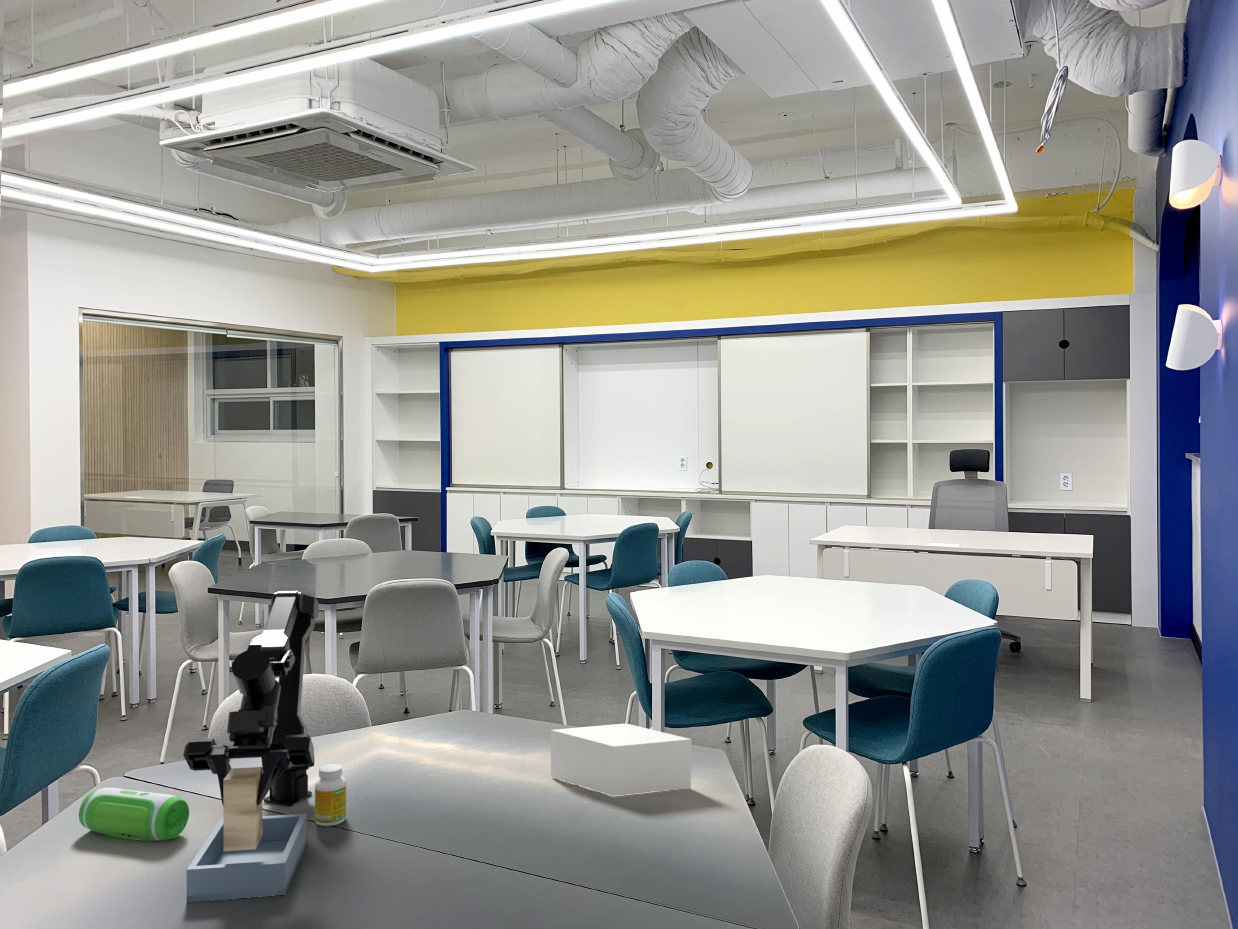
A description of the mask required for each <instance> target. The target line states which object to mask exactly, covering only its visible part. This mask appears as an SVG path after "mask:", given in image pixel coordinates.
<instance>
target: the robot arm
mask: <svg viewBox="0 0 1238 929" xmlns="http://www.w3.org/2000/svg"><path fill="white" fill-rule="evenodd" d="M319 605H320V604H319V600H317V598H316V597H314V596H313V595H307V594H304V593H303V592H302V591H299V590H282V591H281V590H279V591H277V592H274V593H273V596H272V597H271V598H270V609H269V614H268V618H267V620H266V623H265V626H264V628H263V631H262V632H261V634H260V635H257V636H255V637H254V638H252V639H251V641H250V643H249V644H248V647H247V648H246V650H244V651H242V652H241V653H240V654H238V655H237V656H236V657H235V659H234V660H233V661H232V662H231V671H232V674H233V678H234V681H235V683H236V686H237V688H238V691H239V693H240V694H242V696H241V697H242V698H241V703H240V706H239V707H240V708H239V709H238V710H236V711H229V713H228V718H227V719H228V720H227V728H226V734H229V736H228V739H229V742H233V743H232V745H226V744H217V742H216V740H215V738H214V737H213V738H212V737H211V738H195V739H190V740H189V741H188V742H187V743H186V744H185V746H184V750H183V754H182V756H183V758H184V759H185V761H186V763H187V765H188V768H189V770H192V771H195V772H197V771H211V773H212V775H216V776H217V780H218V785H219V792H220V799H221V805H222V806H223V780H224V778H225V777H226V776H227V774H228V773H229V771H230V770H231V769H232V766H231V764H230V762H231V759H232V760H233V759H235V760H236V759H250V758H251V759H254V758H261V767H263V774H262V778H261V781H260V785H259V789H258V794H257V805H260V804H261V802H262V801H263V802H265V803H267V804H268V803H269V804H274V805H280V806H285V807H291V806H293V805H295V804H297V803H299V802H301V801H303V800H304V799H306V798H308V797H310V796H312V794H313V791H311V790H309V775H308V774H307V772H308V771H307V770H309V769H310V768H312V767H314V766H315V748H314V744H313V741H312V737H311V736H310V735H309V734H308V733H309V731H308V730H309V729H308V728H307V726H306V724H305V722H304V720H303V719H302V717H301V710H302V709H301V708H302V697H303V696H302V694H303V679H304V665H305V664H304V662H305V650H306V640H307V639H308V638H309V637H310V635H311V634H312V632H313V631H314V629H315V625H316V619H318V618H319V611H320V607H319ZM276 678H278V680H277V679H276ZM268 793H269V795H268ZM267 795H268V796H267ZM266 796H267V797H266Z"/></svg>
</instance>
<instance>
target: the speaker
mask: <svg viewBox="0 0 1238 929" xmlns="http://www.w3.org/2000/svg"><path fill="white" fill-rule="evenodd" d="M85 796H86V797H84V799H83V801H82V802H81V804H80V807H79V809H78V820H79V823H80V824H81V826H83V827H84V828H86V829H88V830H90V831H92V832H96V833H99V834H104V835H105V836H108V837H115V838H120V839H121V838H122V839H130V840H135V841H137V840H138V841H146V842H147V841H169V840H171V839H175V838H177V837H179V835H181V834H182V832H183V831H184V830H185V828H186V826H187V824H188V820H189V816H190V809H189V808H190V807H189V805H188V803H187V801H186V800H184V799H182V798H180V797H178V796H176V795H173V794H167V793H166V794H165V793H161V792H160V793H158V792H151V791H143V790H142V791H141V790H135V789H127V788H125V789H124V788H117V787H104V788H98V789H94V790H92V791H91V792H89V793H88V794H87V795H85Z"/></svg>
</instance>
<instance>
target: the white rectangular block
mask: <svg viewBox="0 0 1238 929" xmlns="http://www.w3.org/2000/svg"><path fill="white" fill-rule="evenodd" d="M551 776H552V777H555V778H557V779H561V780H564V781H566V782H570V783H574V784H577V785H581V786H583V787H588V788H591V789H594V790H597V791H600V792H604V793H607V794H610V795H613V796H614V795H626V794H634V793H643V792H651V791H665V790H666V791H667V790H675V789H686V790H690V789H689V788H691V787H692V739H691V738H688V737H684V736H680V735H675V734H673V733H672V734H671V733H667V732H663V731H658V730H655V729H652V728H651V729H650V728H646V727H642V726H639V725H635V724H629V723H617V724H616V723H615V724H604V725H593V726H581V727H572V728H571V727H570V728H559V729H558V728H557V729H551V730H550V777H551Z"/></svg>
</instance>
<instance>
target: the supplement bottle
mask: <svg viewBox="0 0 1238 929" xmlns="http://www.w3.org/2000/svg"><path fill="white" fill-rule="evenodd" d="M342 775H343V766H342V765H341V764H337V763H331V764H324V765H322V766H320V767H319V769H318V777H319V778H318V779H317V780H316V781H315V785H314V821H315V822H314V823H315V824H316V825H317V826H321V827H332V826H336V825H339V824H341V823H342V822H344V821H345V820H346V817H347V780H346V778H345V777H343V776H342Z"/></svg>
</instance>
